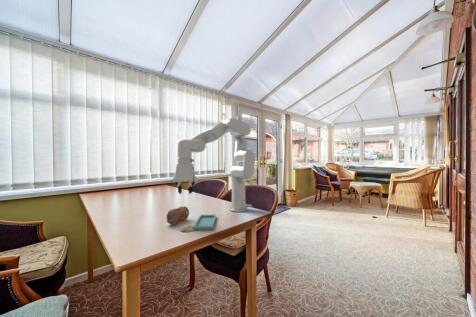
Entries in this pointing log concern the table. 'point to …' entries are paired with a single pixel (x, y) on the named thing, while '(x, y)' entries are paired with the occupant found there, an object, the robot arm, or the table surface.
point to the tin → (177, 215)
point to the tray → (205, 222)
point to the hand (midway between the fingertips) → (185, 193)
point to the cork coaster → (186, 229)
